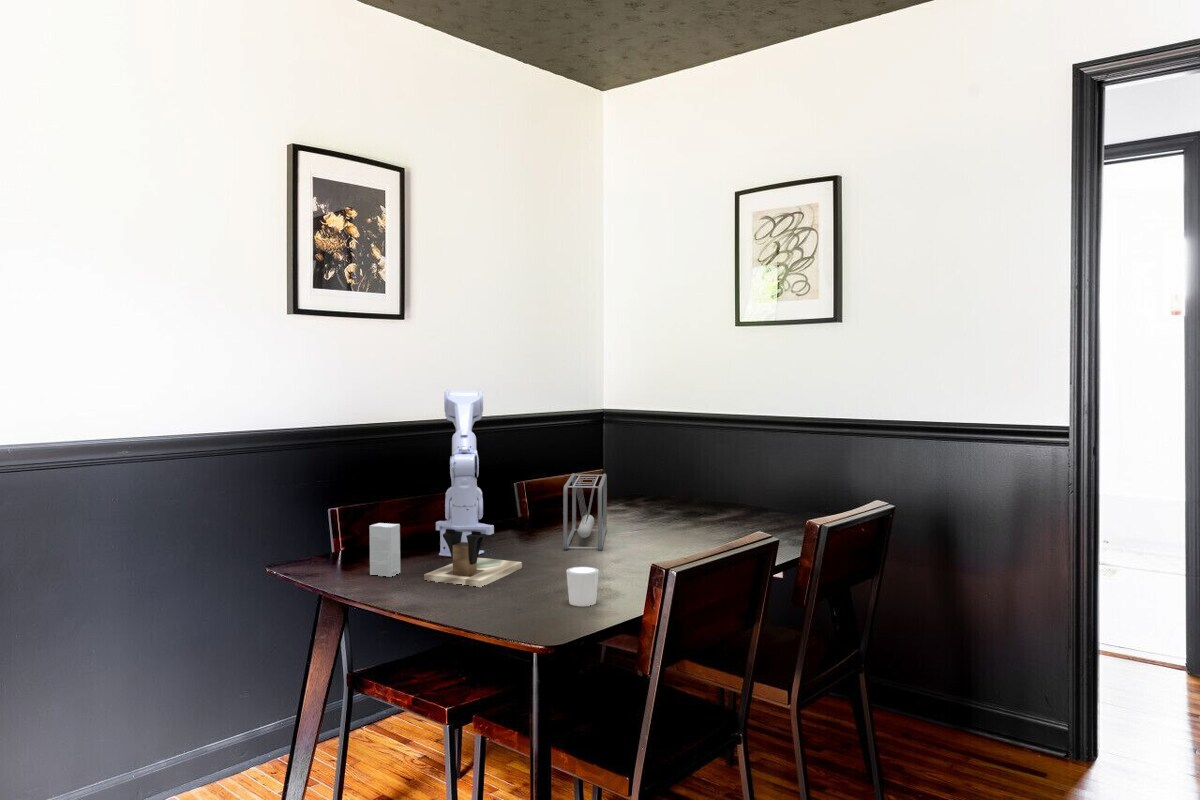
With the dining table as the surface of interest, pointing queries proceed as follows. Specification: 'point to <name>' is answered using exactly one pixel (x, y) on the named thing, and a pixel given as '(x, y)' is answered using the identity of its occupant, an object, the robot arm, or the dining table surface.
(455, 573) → the block
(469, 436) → the robot arm
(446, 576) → the board
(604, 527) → the newton's cradle
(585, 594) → the shot glass
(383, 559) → the skincare box
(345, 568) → the dining table surface
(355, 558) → the dining table surface
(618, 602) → the dining table surface
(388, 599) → the dining table surface
